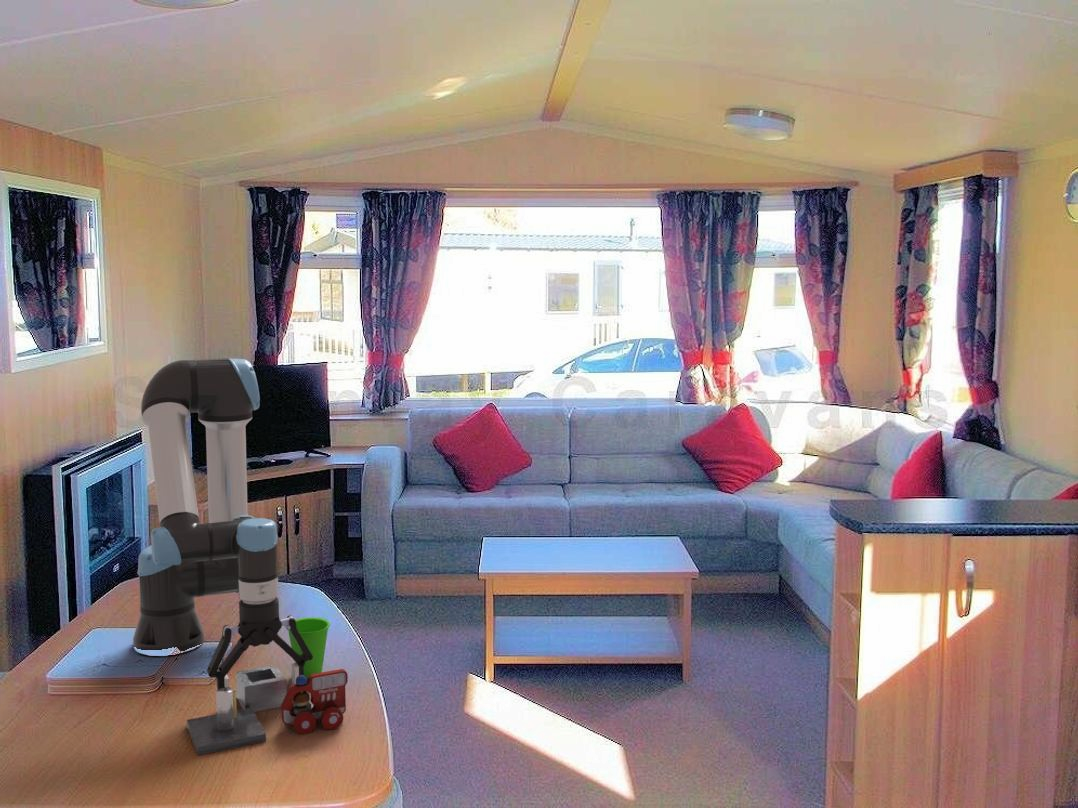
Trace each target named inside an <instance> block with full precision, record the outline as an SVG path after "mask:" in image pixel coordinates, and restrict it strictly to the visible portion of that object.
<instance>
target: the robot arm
mask: <svg viewBox="0 0 1078 808" xmlns="http://www.w3.org/2000/svg"><path fill="white" fill-rule="evenodd" d="M260 402H261V397H260V390H259V385H258V379H257V375H256V372H255V370H254V367H253V365H252V364H251V362H250V361H249V360H247V359H245V358H230V357H227V358H225V357H224V358H209V359H207V358H206V359H191V360H190V359H179V360H176V361H173V362H172V361H171V362H170V363H168V364H165V365H164V366H163V367H161V368H160V369H159V370H158V371H157V372H156V373H155V374H154V375H152V378H151V379H150V381H148V384H147V385H146V387H145V390H144V392H143V394H142V399H141V404H140V405H141V406H140V408H141V409H140V410H141V420H142V422H143V425H145V426H146V427H148V435H149V444H150V453H151V461H152V469H153V478H154V479H153V480H154V486H155V494H156V503H157V513H158V520H159V527H154V528H153V529H152V530H151V533H150V545H149V546H147V547H145V548H144V549H143V550H142V551H141V552H140V553H139V555H138V560H137V561H138V564H137V565H138V568H137V575H138V584H139V586H138V587H139V589H138V591H139V612H140V613H139V617H138V620H137V624H136V628H135V631H134V635H133V638H132V645H134V647H136V648H137V649H141V650H162V649H168V648H172V647H174V648H175V647H177V648H178V649H179V650H180V651H185V650H187V649H189V648H192V647H195V646H197V645H200V644H202V643H203V644H204V643H205V631H204V628H203V626H202V623H201V620H200V618H199V615H198V613H197V610H196V605H195V604H196V603H195V600H196V599H195V598H200V597H202V598H203V597H208V596H209V597H210V596H217V595H224V594H232V593H233V594H234V593H235V594H238V598H239V599H240V600H239V602H238V609H239V610H238V611H239V612H238V613H239V614H238V615H239V618H238V619H239V623H238V625H237V626H229V625H228V624H225V625H223V627H222V634H221V638H220V640H219V643H218V645H217V646H216V649H215V650H214V653H213V654H212V655H213V656H212V657H211V659H210V661H209V663H208V666H207V668H206V673H207V675H208V677H209V678H216V691H217V690H218V689H220V688H224V687H229V688H230V678H229V675H228V673H229V672H230V671H231V669H232V668H233V667H234V665H236V662H238V660H239V659H240V657H241V656H242V655H243V654H244V652H245V651H247V650H248V648H249V647H250V646H251V647H258V646H260V645H264V646H266V645H270V643H272V642H274V643H275V644H276V645H277V646H279V648H281V650H283V652H284V653H286V654H287V655H289V657H291V659H292V660H293V661H291V685H293V684H296V678H297V677H298V676H299V675H304V665H305V662H306V661H308V660H312V659H313V656H312V654H311V652H310V651H309V649H308V647H307V646H306V644H305V642H304V640H303V639H302V637H301V635H300V634H299V632H298V630H297V627H296V621H295V620H296V619H295V618H294V617H293V616H292V614H289V615H287V617H286V618H282V619H280V602H279V597H278V596H279V577H278V576H279V574H278V573H279V571H278V570H279V567H278V566H279V565H278V563H279V561H278V541H279V535H278V533H277V530H278V529H277V524H276V522H275V521H274V520H273V519H269V518H264V517H254V516H252V515H249V513H248V510H249V509H248V477H247V475H248V474H247V436H246V435H247V433H246V426H247V425H248V423H249V422H250V421H251V420H252V419H253V411H256V410H258V409H259V408H260V405H261V404H260ZM192 413H197V414H198V415H197V419H198V422H200V423H201V424H202V425H204V426H205V441H206V442H205V443H206V472H207V473H206V474H207V476H206V477H207V506H208V508H207V509H208V522H206V523H201V522H200V516H199V515H200V514H199V509H198V500H197V493H196V486H195V480H194V479H195V478H194V472H193V466H192V465H193V464H192V458H191V450H190V444H189V437H188V429H187V421H188V420H189V418H190V414H192ZM282 626H283V627H284V628H285V629H286V630H287V629H289V630H290V632H291V634H292V635H293V637H294V639H295V640H296V642H297V644H298V646H299V647H300V649H301V651H302V652H303V654H301V655H299V654H298V653H297V652H296V651H295V650H294V649H292V648H291V645H290V644H289V643H287V642H286V641H285V640H284V639H283V638H282V637H281V636H280V635H279V632H280V631H281V628H282ZM236 634H239V635H240V638H239V639H238V640H237V642H236V644H235V646H234V647H233V648H232V649H231V651H230V652H229V653H228V655H227V656H226V658H225V659H224V657H225V654H226V652H227V651H228V648H229V646H230V643H231V641H232V639H233V638H234V637H235V635H236ZM203 644H202V645H203ZM223 659H224V660H223ZM294 660H295V661H296V662H294Z"/></svg>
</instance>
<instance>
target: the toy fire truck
mask: <svg viewBox="0 0 1078 808" xmlns="http://www.w3.org/2000/svg"><path fill="white" fill-rule="evenodd" d="M348 678H349V677H348V672H347V671H346V670H345V669H344V668H340V669H334V670H333V669H332V670H328V671H327V670H326V671H322V672H321V673H315V674H311V675H310V676H309V677H308V679H307V678H306V677H305V676H304V675H299V676H298V677H297V678H296V684H293V685H292V684H291V685H290V686H289V687H288V690H287V691H286V696H285V698H284V700H283V702H282V704H281V707H280V709H281V710H280V711H281V715H280V716H281V722H282V723H283V724H284V725H286V726H288V725H293V728H294V730H295V731H296V732H297V733H298V734H301V735H306V734H310V733H311V732H312V731H313V730H314V729H315V727H316V726H317V721H316V720H320V722H321V724H322V726H323V727H324V728H325V729H326V730H331V731H333V730H335V729H338V728H339V727H340V726H341V725H342V723H344V722H343V721H344V714H345V713H346V710H347V702H346V699H347V698H346V685H347V684H348ZM311 703H312V704H311ZM312 705H313V706H312Z"/></svg>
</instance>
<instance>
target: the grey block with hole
mask: <svg viewBox="0 0 1078 808" xmlns="http://www.w3.org/2000/svg"><path fill="white" fill-rule="evenodd" d="M235 672H236V673H235V676H236V679H235V680H236V681H235V682H236V700H237V701H238V703H239V704H240V707H241V709H246V708H252V709H253V711H254V713H257V712H261V711H268V710H271V709H272V710H273V709H278V708H281V704H282V702H283V700H284V698H285V696H286V694H287V679H286V676H284V674H283V673H282V671H281V670H280V668H279V666H278V665H277V664H273V665H268V666H262V667H256V668H255V667H254V668H250V669H249V668H248V669H244V670H238V671H237V670H236V671H235Z"/></svg>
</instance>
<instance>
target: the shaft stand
mask: <svg viewBox="0 0 1078 808" xmlns="http://www.w3.org/2000/svg"><path fill="white" fill-rule="evenodd" d="M215 699H216V700H215V702H216V705H215V706H216V714H210V715H205V716H200V717H195V718H189V719H186V728H187V732H188V734H189V736H190V739H191V740H192V741H191V742H192V744H193V746H194V749H195V752H196V754H197V756H202V755H207V754H210V753H217V752H221V751H225V750H230V749H235V748H241V747H245V746H249V745H250V746H251V745H255V744H258V743H259V742H260V743H264V741H265V742H266V741H267V732H266V731H265V728H264V727H263V726H262V723H260V720H259V719H258V716H257V715H256V712H254V711H253V709H252V708H246V709H243V708H241V709H237V690H234V689H233V687H230V686H229V687H224V688H220V689H218V690H217V689H216V690H215ZM260 743H259V744H260Z"/></svg>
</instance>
